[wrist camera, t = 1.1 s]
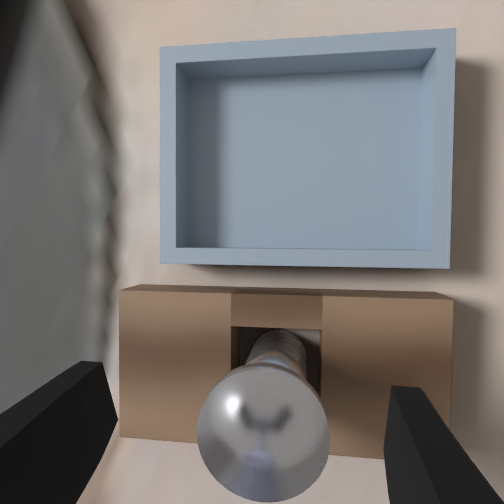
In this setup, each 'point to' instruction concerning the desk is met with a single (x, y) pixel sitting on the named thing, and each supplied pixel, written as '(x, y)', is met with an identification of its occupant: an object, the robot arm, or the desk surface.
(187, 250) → the tray
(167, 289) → the brown flat block
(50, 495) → the robot arm
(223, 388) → the steel pin
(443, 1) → the desk surface
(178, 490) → the desk surface
